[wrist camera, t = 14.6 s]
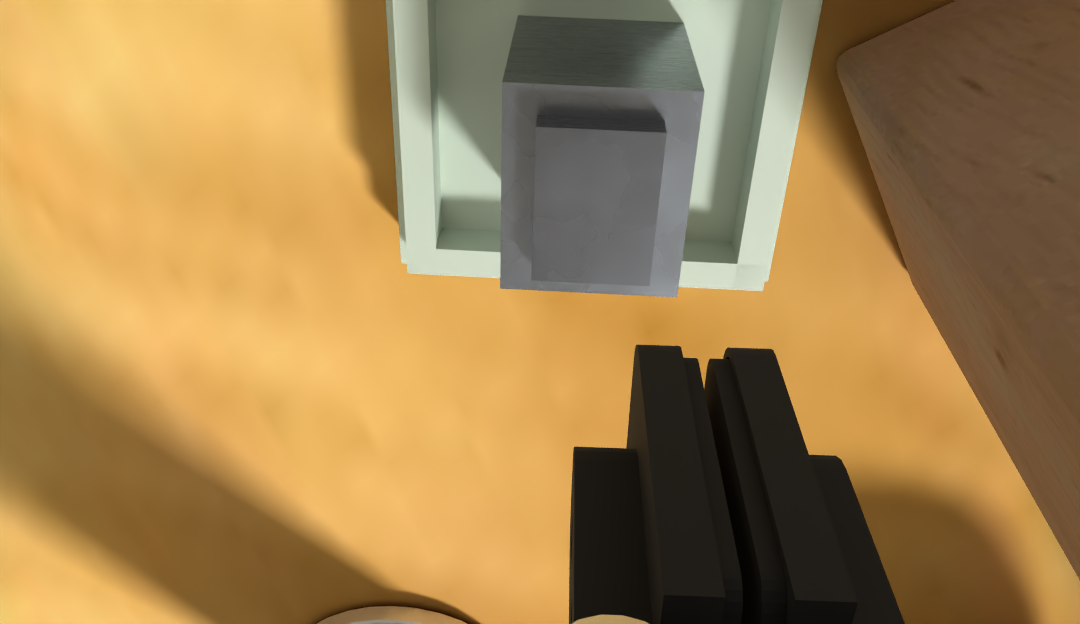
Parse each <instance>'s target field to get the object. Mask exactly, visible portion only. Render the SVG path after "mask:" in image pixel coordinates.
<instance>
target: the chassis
mask: <svg viewBox="0 0 1080 624" xmlns="http://www.w3.org/2000/svg"><path fill="white" fill-rule="evenodd" d="M822 2H823V0H386V16H387V33H388V50H389V67H390V83H391V100H392V117H393V134H394V150H395V167H396V184H397V201H398V217H399V234H400V251H401V263H406V264H407V272H408V273H409V274H429V275H449V276H470V277H490V278H500V258H501V148H502V81H503V76H504V72H505V68H506V64H507V59H508V55H509V51H510V47H511V42H512V38H513V34H514V30H515V25H516V21H517V17H518V15H524V16H547V17H569V18H592V19H614V20H637V21H659V22H682V23H684V25H685V28H686V32H687V35H688V38H689V42H690V45H691V48H692V52H693V55H694V58H695V61H696V65H697V68H698V71H699V75H700V78H701V81H702V84H703V88H704V91H705V93H704V100H703V107H702V115H701V122H700V130H699V137H698V145H697V152H696V160H695V167H694V175H693V182H692V190H691V197H690V205H689V212H688V220H687V227H686V235H685V242H684V249H683V257H682V264H681V272H680V279H679V287H690V288H710V289H730V290H750V291H763V287H764V282H765V281H768V279H769V274H770V269H771V263H772V258H773V253H774V248H775V243H776V238H777V233H778V228H779V222H780V217H781V212H782V207H783V202H784V197H785V192H786V187H787V181H788V176H789V171H790V166H791V161H792V156H793V151H794V146H795V140H796V135H797V130H798V125H799V120H800V115H801V110H802V105H803V99H804V94H805V89H806V84H807V79H808V74H809V69H810V64H811V58H812V53H813V48H814V43H815V38H816V33H817V28H818V23H819V17H820V12H821V7H822Z"/></svg>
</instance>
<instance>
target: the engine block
mask: <svg viewBox="0 0 1080 624" xmlns="http://www.w3.org/2000/svg"><path fill="white" fill-rule="evenodd" d="M704 93H705V91H704V88H703V84H702V81H701V78H700V75H699V71H698V68H697V65H696V61H695V58H694V55H693V52H692V48H691V45H690V42H689V38H688V35H687V32H686V28H685V25H684V23H682V22H659V21H637V20H614V19H592V18H569V17H547V16H524V15H518V17H517V21H516V25H515V30H514V34H513V38H512V42H511V47H510V51H509V55H508V59H507V64H506V68H505V72H504V76H503V81H502V148H501V258H500V288H502V289H522V290H542V291H561V292H581V293H601V294H621V295H641V296H661V297H677V294H678V287H679V279H680V272H681V264H682V257H683V249H684V242H685V235H686V227H687V220H688V212H689V205H690V197H691V190H692V182H693V175H694V167H695V160H696V152H697V145H698V137H699V130H700V122H701V115H702V107H703V100H704Z"/></svg>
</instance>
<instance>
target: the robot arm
mask: <svg viewBox="0 0 1080 624" xmlns="http://www.w3.org/2000/svg"><path fill="white" fill-rule="evenodd" d="M317 624H467V623H465V622H463V621H461V620H458V619H455V618H453V617H450V616H447V615H444V614H441V613H438V612H433V611H428V610H424V609H419V608H411V607H400V606H377V607H366V608H360V609H355V610H349V611H345V612H343V613H340V614H337V615H334V616H331V617H328V618H326V619H324V620H322V621H321V622H319V623H317ZM569 624H905V623H904V621H903V618H902V615H901V613H900V610H899V608H898V605H897V602H896V600H895V597H894V594H893V592H892V589H891V586H890V584H889V581H888V579H887V576H886V573H885V571H884V568H883V565H882V563H881V560H880V557H879V555H878V552H877V550H876V547H875V544H874V542H873V539H872V536H871V534H870V531H869V528H868V526H867V523H866V521H865V518H864V515H863V513H862V510H861V507H860V505H859V502H858V499H857V497H856V494H855V491H854V489H853V486H852V484H851V481H850V478H849V476H848V473H847V470H846V468H845V466H844V464H843V462H842V460H841V459H840V458H838V457H837V456H825V455H809V454H808V451H807V448H806V445H805V442H804V439H803V436H802V433H801V430H800V427H799V424H798V421H797V418H796V415H795V412H794V409H793V406H792V403H791V400H790V397H789V394H788V391H787V388H786V385H785V382H784V379H783V376H782V373H781V370H780V367H779V364H778V361H777V358H776V355H775V353H774V351H773V350H772V349H752V348H727V349H726V351H725V354H724V358H723V359H710V360H709V362H708V366H707V373H706V380H705V388H704V387H703V382H702V377H701V372H700V367H699V362H698V359H697V358H683V355H682V350H681V347H680V346H660V345H636V348H635V355H634V365H633V377H632V389H631V401H630V413H629V425H628V437H627V449H624V448H595V447H574V452H573V471H572V493H571V521H570V577H569Z"/></svg>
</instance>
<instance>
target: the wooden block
mask: <svg viewBox="0 0 1080 624" xmlns="http://www.w3.org/2000/svg"><path fill="white" fill-rule="evenodd" d="M836 71H837V74H838V77H839V80H840V82H841V85H842V88H843V91H844V94H845V96H846V99H847V102H848V105H849V108H850V110H851V113H852V116H853V119H854V122H855V124H856V127H857V130H858V133H859V136H860V138H861V141H862V144H863V147H864V150H865V152H866V155H867V158H868V161H869V164H870V166H871V169H872V172H873V175H874V178H875V180H876V183H877V186H878V189H879V192H880V194H881V197H882V200H883V203H884V206H885V208H886V211H887V214H888V217H889V220H890V222H891V225H892V228H893V231H894V234H895V236H896V239H897V242H898V245H899V247H900V250H901V253H902V256H903V259H904V261H905V264H906V267H907V270H908V273H909V275H910V278H911V281H912V284H913V286H914V287H915V289H916V291H917V293H918V295H919V296H920V298H921V300H922V302H923V303H924V305H925V307H926V309H927V310H928V312H929V314H930V316H931V318H932V319H933V321H934V323H935V325H936V326H937V328H938V330H939V332H940V333H941V335H942V337H943V339H944V341H945V342H946V344H947V346H948V348H949V349H950V351H951V353H952V355H953V357H954V358H955V360H956V362H957V364H958V365H959V367H960V369H961V371H962V372H963V374H964V376H965V378H966V380H967V381H968V383H969V385H970V387H971V388H972V390H973V392H974V394H975V395H976V397H977V399H978V401H979V403H980V404H981V406H982V408H983V410H984V411H985V413H986V415H987V417H988V418H989V420H990V422H991V424H992V426H993V427H994V429H995V431H996V433H997V434H998V436H999V438H1000V440H1001V441H1002V443H1003V445H1004V447H1005V449H1006V450H1007V452H1008V454H1009V456H1010V457H1011V459H1012V461H1013V463H1014V464H1015V466H1016V468H1017V470H1018V472H1019V473H1020V475H1021V477H1022V479H1023V480H1024V482H1025V484H1026V486H1027V487H1028V489H1029V491H1030V493H1031V495H1032V496H1033V498H1034V500H1035V502H1036V503H1037V505H1038V507H1039V509H1040V510H1041V512H1042V514H1043V516H1044V518H1045V519H1046V521H1047V523H1048V525H1049V526H1050V528H1051V530H1052V532H1053V534H1054V535H1055V537H1056V539H1057V541H1058V542H1059V544H1060V546H1061V548H1062V549H1063V551H1064V553H1065V555H1066V557H1067V558H1068V560H1069V562H1070V564H1071V565H1072V567H1073V569H1074V571H1075V572H1076V574H1077V576H1078V578H1079V580H1080V0H956V1H953V2H951V3H949V4H947V5H945V6H943V7H940V8H938V9H936V10H934V11H932V12H929V13H927V14H925V15H923V16H921V17H918V18H916V19H914V20H912V21H910V22H908V23H905V24H903V25H901V26H899V27H897V28H894V29H892V30H890V31H888V32H886V33H883V34H881V35H879V36H877V37H875V38H873V39H870V40H868V41H866V42H864V43H862V44H859V45H857V46H855V47H853V48H851V49H848V50H846V51H845V52H844V53H843V54H841V55H840V56H839V57H838V59H837V70H836Z"/></svg>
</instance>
